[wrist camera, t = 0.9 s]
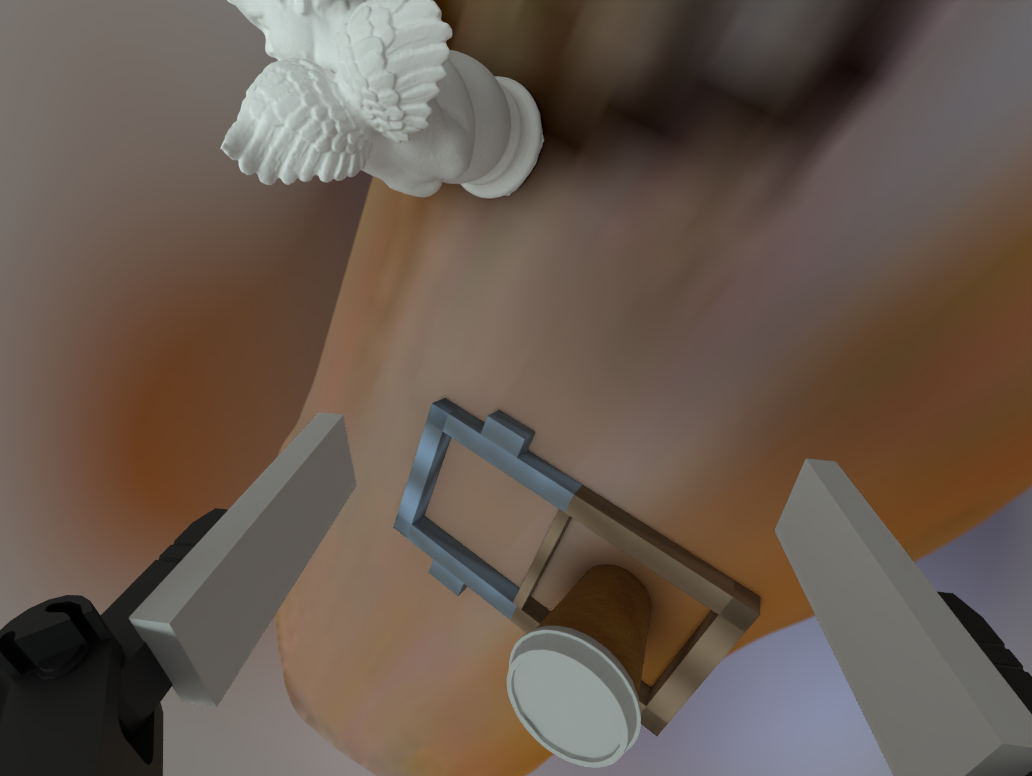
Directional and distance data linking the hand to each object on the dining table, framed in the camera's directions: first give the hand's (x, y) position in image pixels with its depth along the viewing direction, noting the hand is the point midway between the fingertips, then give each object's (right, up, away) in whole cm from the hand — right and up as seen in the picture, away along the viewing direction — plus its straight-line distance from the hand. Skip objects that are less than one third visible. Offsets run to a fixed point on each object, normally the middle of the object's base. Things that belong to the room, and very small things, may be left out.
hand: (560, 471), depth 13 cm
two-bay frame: (+2, -13, +29) cm, 32 cm away
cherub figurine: (-1, +22, +22) cm, 31 cm away
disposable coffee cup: (+8, -16, +27) cm, 32 cm away
